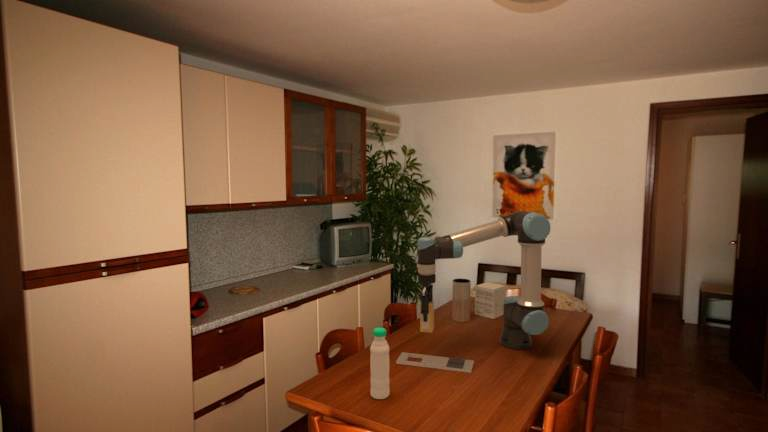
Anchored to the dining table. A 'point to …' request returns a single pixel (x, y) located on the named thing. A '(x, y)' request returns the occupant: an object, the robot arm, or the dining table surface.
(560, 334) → the dining table surface
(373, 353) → the water bottle
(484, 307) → the supplement box
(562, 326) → the dining table surface
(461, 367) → the white flat board
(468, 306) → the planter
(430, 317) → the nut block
